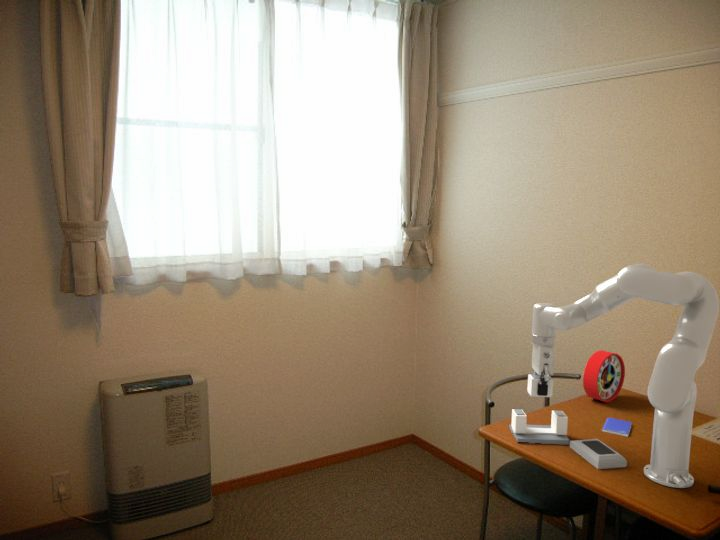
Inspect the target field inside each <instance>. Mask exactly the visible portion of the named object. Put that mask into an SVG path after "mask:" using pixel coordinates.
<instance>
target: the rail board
mask: <svg viewBox="0 0 720 540" xmlns="http://www.w3.org/2000/svg"><path fill="white" fill-rule="evenodd" d="M550 417H551V419H550V420H551V421H550V422H551V423H550V424H544V425H543V424H527V418H528V417H527V413H525V412H524V410H523V409H517V408H516V409H513V408H512V409H511V423H509V425H508V428H510V429H509V430H511V431H510V432H511V434H512V433H513V434H512V436H513V435H514V436H513V438H514V437H515V438H516V440H517V441H519V442H529V443H528V444H535V443H541V444H542V445H543V444H544V445H546V444H547V445H564V446H565V445H566V446H568V445H569V446H570V441H571V440H570V438H569V437H568V436H567V434H568V422H569V420H568V419H569V418H568V415H567V414H565V413H564V411H563V410H551V416H550ZM515 438H514V439H515ZM516 440H515V441H516ZM541 444H540V445H541Z"/></svg>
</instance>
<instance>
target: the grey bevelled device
mask: <svg viewBox="0 0 720 540" xmlns="http://www.w3.org/2000/svg"><path fill="white" fill-rule="evenodd" d="M569 448H570V449H572V450H573V451H574V452H576V454H578V455H579V456H580V455H581V456H580V457H582V458H583V459H584V460H585V461H587V462H588V463H590V465H592V466H593V467H594V468H596V469H597V470H605V469H616V468H617V469H618V468H626V467H627V466H628V461H627V459H626V458H625V457H624V456H623V455H622V454H620V453H619V452H618V451H616V449H615V450H614V449H613V448H612V447H610V446H609V445H608V444H606V443H604V441H601V440H600V439H599V438H592V439H591V438H590V439H577V440H570V445H569Z"/></svg>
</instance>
